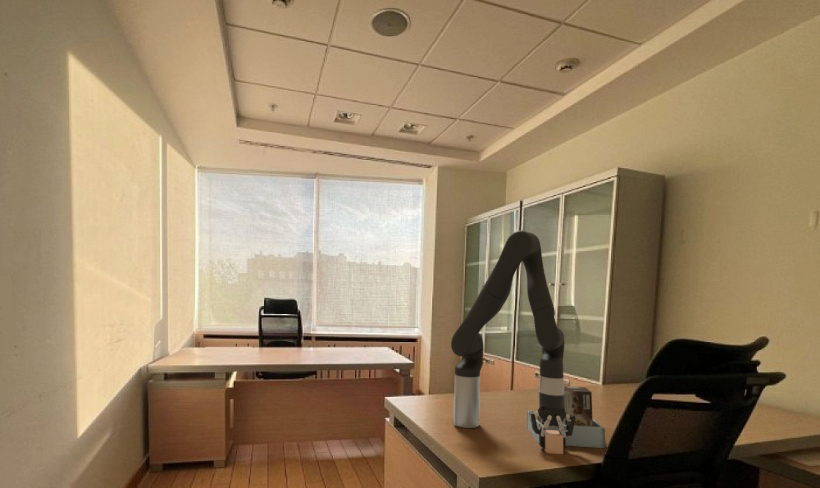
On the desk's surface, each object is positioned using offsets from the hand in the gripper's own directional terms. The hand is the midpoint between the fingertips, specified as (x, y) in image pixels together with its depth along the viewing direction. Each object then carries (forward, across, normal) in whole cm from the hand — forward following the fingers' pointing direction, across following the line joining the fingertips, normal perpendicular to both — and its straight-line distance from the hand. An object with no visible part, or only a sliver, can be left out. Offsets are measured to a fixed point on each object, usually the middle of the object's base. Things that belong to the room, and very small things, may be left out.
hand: (552, 448), depth 115 cm
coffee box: (+1, +12, +12) cm, 16 cm away
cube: (0, 0, 0) cm, 0 cm away
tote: (0, +8, +12) cm, 14 cm away
